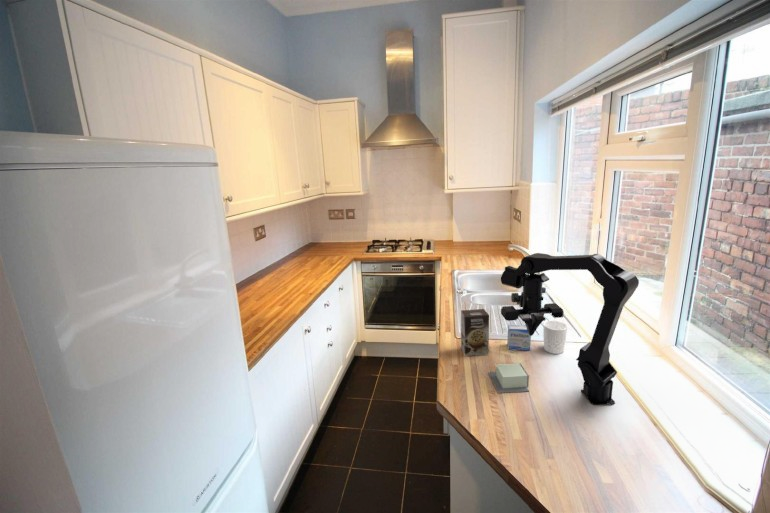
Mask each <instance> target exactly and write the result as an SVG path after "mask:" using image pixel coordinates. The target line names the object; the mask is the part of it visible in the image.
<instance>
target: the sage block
mask: <svg viewBox="0 0 770 513" xmlns="http://www.w3.org/2000/svg"><path fill="white" fill-rule="evenodd" d="M495 367H496V368H495V369H496V370H495V372H496V376H497V378H498V380H499V382H500V384H501V386H502V388H517V387H527V388H528V387H529V381H530V380H529V378H530V375H529V374H528V372H527V371H526V370H525V368H524V366H523V365H522V364H521V363H509V364H508V363H505V364H504V363H502V364H496V366H495Z"/></svg>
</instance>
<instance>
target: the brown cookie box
mask: <svg viewBox="0 0 770 513" xmlns="http://www.w3.org/2000/svg"><path fill="white" fill-rule="evenodd" d="M460 327H461V328H460V335H461V336H460V349H461V352H462V353H463V355H464V357H470V356H471V357H472V356H483V355H484V356H485V355H486V356H487V355H489V348H490V347H489V346H490V345H489V344H490V343H489V342H490V336H489V335H490V315H489V313H488V312H487V311H486V309H485V308H479V309H464V310H463V309H462V310H460Z"/></svg>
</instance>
